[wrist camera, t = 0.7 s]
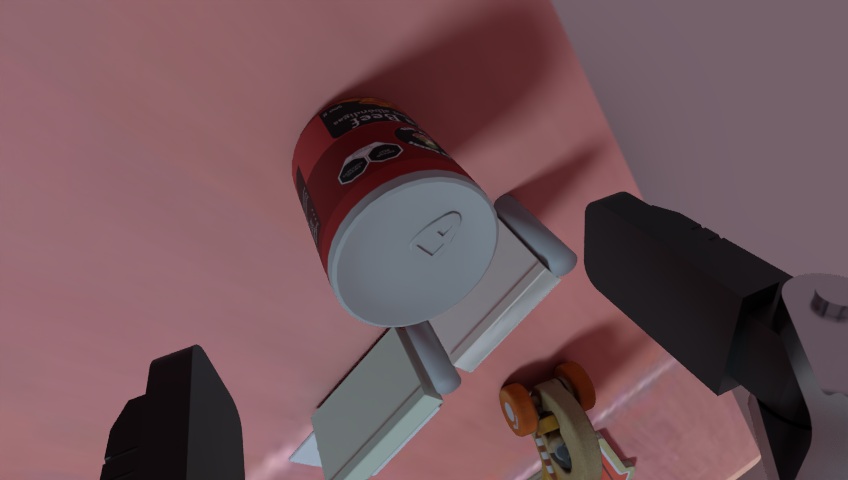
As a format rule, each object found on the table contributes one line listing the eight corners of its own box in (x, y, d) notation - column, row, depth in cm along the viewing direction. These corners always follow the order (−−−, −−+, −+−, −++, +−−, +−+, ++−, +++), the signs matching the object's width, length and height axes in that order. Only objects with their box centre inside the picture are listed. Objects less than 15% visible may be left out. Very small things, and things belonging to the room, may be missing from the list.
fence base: (393, 315, 38) (430, 390, 32) (505, 189, 35) (567, 247, 29) (410, 322, 39) (449, 397, 33) (519, 202, 36) (582, 259, 31)
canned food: (437, 121, 30) (531, 206, 22) (380, 227, 33) (444, 340, 25) (323, 68, 26) (386, 147, 18) (268, 195, 29) (300, 316, 20)
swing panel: (391, 324, 38) (424, 394, 32) (409, 332, 39) (443, 401, 33) (309, 417, 40) (327, 496, 34) (327, 421, 41) (348, 499, 36)
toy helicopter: (571, 343, 49) (674, 464, 39) (553, 456, 61) (628, 572, 51) (498, 370, 47) (586, 506, 37) (494, 482, 59) (560, 608, 49)
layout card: (288, 458, 43) (289, 462, 42) (359, 379, 40) (361, 383, 40) (373, 473, 49) (374, 476, 48) (439, 405, 47) (441, 408, 46)
